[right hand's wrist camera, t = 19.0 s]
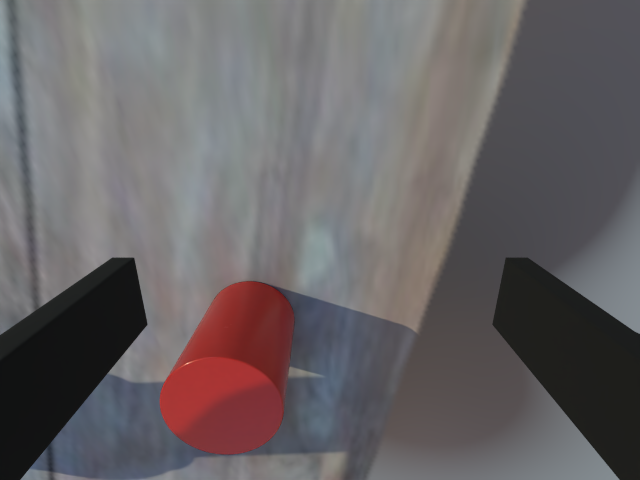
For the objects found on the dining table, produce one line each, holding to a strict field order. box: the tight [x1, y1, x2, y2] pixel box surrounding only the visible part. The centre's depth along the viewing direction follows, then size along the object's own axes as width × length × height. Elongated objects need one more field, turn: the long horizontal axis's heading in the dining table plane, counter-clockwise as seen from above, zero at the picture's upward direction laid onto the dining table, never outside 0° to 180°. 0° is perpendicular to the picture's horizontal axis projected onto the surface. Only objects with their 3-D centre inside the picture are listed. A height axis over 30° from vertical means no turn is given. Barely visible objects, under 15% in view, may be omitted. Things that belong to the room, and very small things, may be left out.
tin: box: [160, 281, 295, 455], centre depth 25 cm, size 7×7×10 cm
